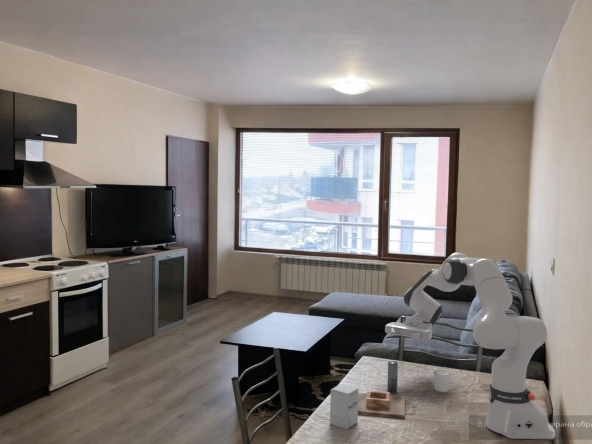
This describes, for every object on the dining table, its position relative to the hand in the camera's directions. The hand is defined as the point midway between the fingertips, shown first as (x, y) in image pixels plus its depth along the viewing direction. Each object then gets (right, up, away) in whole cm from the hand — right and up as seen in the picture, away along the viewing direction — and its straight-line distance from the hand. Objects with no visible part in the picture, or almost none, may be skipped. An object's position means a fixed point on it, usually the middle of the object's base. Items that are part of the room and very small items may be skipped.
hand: (402, 335), depth 229 cm
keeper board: (-14, -22, -25) cm, 36 cm away
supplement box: (-29, -23, -40) cm, 54 cm away
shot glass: (+15, -21, -6) cm, 27 cm away
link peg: (-6, -21, -9) cm, 24 cm away
